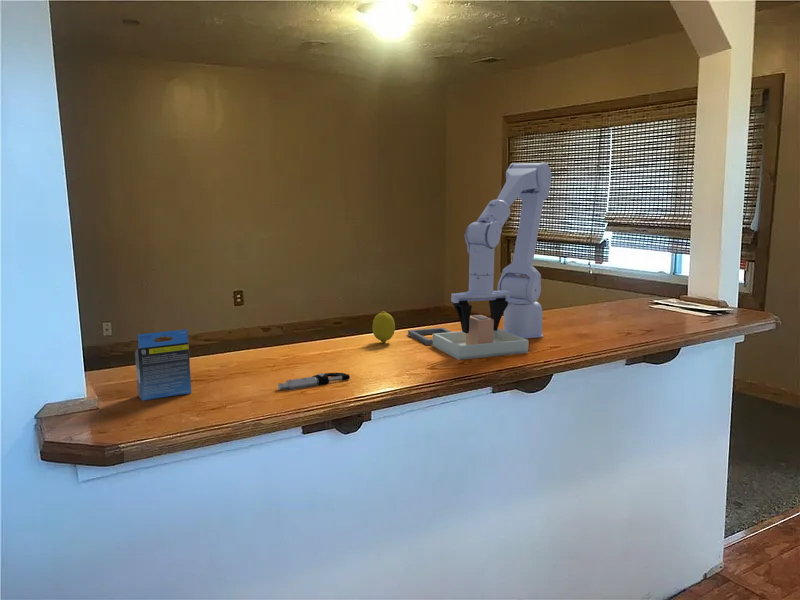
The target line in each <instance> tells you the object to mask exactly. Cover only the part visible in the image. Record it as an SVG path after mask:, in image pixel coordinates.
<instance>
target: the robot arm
mask: <svg viewBox="0 0 800 600" xmlns="http://www.w3.org/2000/svg"><path fill="white" fill-rule="evenodd" d="M552 176H553V175H552V171H551V167H550V166H549V164H548V163H547V162H545V161H544V162H543V161H542V162H530V163H529V162H523V163H521V162H520V163H518V162H512V163H510V165H508V167H507V169H506V171H505V182H504V185H503V187H502V189H501V191H500V193H499V194H498V196H497V198H496V199H492V200H490V201H489V202H488V204H487V205H486V207H485V208H484V210H483V211H482V212H481V214H480V216H479V217H478V218H477V220H476V221H474V222H472V223H470V224H468V226H467V228H466V229H465V233H464V240H465V244H466V248H467V254H469V262H468V263H469V264H468V265H469V266H468V270H469V271H468V291H464V292H456V293H451V294H450V295H451V296H450V302H451V303H453V304H452V305H453V307H454V309H455V311H456V313H457V315H458V319H459V322H460V326H461V331H462V332H464V333H469V320H470V316H471V312H472V308H473V306H472V304H470V303H469V302H482V301H483V302H484V301H485V302H486V301H488V305H489V312H490V313H489V314H490V318H491V319H494V328H493V330H494V331H497V330H498V328H499V326H500V322H501V320H502V316H503V328H502V330H504V331H506V332H509V333H511V334H514V335H516V336H519V337H521V338H524V339H536V338H544V334H543V307H542V305H541V303H540V302H538V299H539V297H540V296H541V292H542V283H541V281H542V274H541V273H540V272H539V271H538V269H536V267H534V265H533V264H534V258H535V252H536V247H537V240H538V234H539V230H540V224H541V218H542V214H543V213H542V211H543V207H544V201H545V200H546V199H548V198H549V194H550V190H551V189H550V188H551V184H552V183H551V181H552ZM517 198H518V199H519V200H520V201H521V202H522V205H521V212H520V216H519V217H520V218H519V223H518V228H517V234H516V241H515V245H514V251H513V258H512V262H511V263H509V264H508V265H506V266H505V267H504V268H503V269H502V273H501V275H500V278H499V280H498V282H497V290H494V283H495V282H494V279H495V248H496V247H497V246H498V245H499V244H500V241H501V234H502V232H503V227H504V224H506V222H507V220H508V218H509V217H510V215H511V208H510V207H511V206H512V205H513V203H514V202H515V201H516V199H517Z"/></svg>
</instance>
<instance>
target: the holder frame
mask: <svg viewBox="0 0 800 600" xmlns="http://www.w3.org/2000/svg"><path fill="white" fill-rule="evenodd" d="M447 332H453V331H451V330H450V329H447V328H445V327H434V328H423V329H412V330H411V329H409V330H407V335H408V336H409V337H411V338H413V339H415V340H417V341H419V342H420V343H422V344H424V345H426V346H433V338H430V339H429V338H428V337H426V336H424V335H433V334H436V333H447Z"/></svg>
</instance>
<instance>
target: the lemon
mask: <svg viewBox="0 0 800 600" xmlns="http://www.w3.org/2000/svg"><path fill="white" fill-rule="evenodd" d="M371 327H372V335H373V336H374V337H375V338H376V339H377V340H379V341H380V342H381V343H382V344H385V343H386V342H387V341H388V340H390V339H392V338H393V336H394V334H395V332H396V331H395V330H396V324H395V320H394V317H393V316H392V315H391V314H390V313H388V312H386V310H385V311H384V310H382V311H381V312H380V313H378V314H376V315H375V316H374V318H373V320H372V326H371Z"/></svg>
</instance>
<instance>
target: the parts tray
mask: <svg viewBox="0 0 800 600" xmlns="http://www.w3.org/2000/svg"><path fill="white" fill-rule="evenodd" d="M432 339H433V345H432V347H433V348H436V349H438V350H439V351H442V352H443V353H445V354H447V355H449V356H450V357H453V358H454V359H456V360H458V361H459V360H460V361H463V360H470V359H471V360H473V359H480V358H482V359H483V358H491V357H501V356H509V355H510V356H511V355H519V354H520V355H521V354H522V355H523V354H528V353H529V339H528V338H526V339H524V338H521V337H519V336H516V335H514V334H511V333H509V332H506V331H504V330H503V329H501V328H499V327H498V330H497V331H494V330H493V343H484V344H473V345H466V333H464V332H462V330H461V331H452V332H447V333H436V334H432Z"/></svg>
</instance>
